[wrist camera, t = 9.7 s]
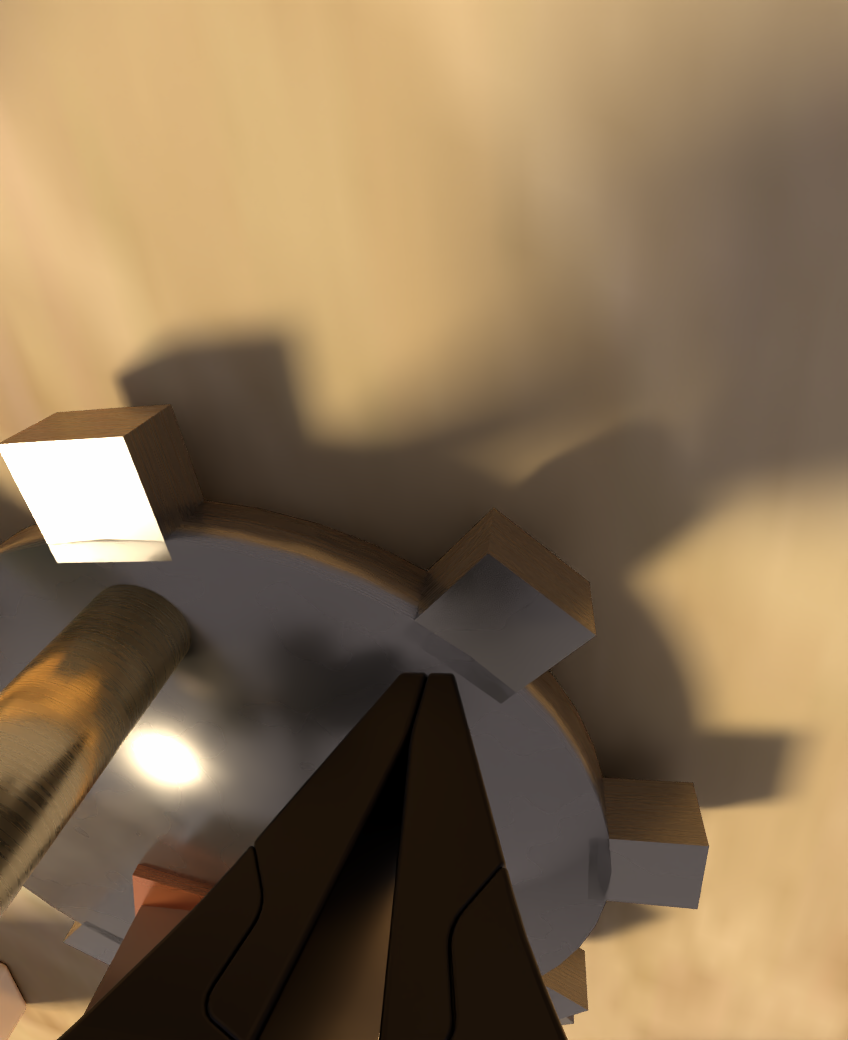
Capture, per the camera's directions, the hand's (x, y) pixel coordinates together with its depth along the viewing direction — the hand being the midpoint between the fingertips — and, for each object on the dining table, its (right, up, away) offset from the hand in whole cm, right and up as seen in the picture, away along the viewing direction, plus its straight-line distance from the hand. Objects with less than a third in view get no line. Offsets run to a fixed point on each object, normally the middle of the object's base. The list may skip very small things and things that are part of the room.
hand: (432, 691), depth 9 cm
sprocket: (-4, -4, +8) cm, 10 cm away
